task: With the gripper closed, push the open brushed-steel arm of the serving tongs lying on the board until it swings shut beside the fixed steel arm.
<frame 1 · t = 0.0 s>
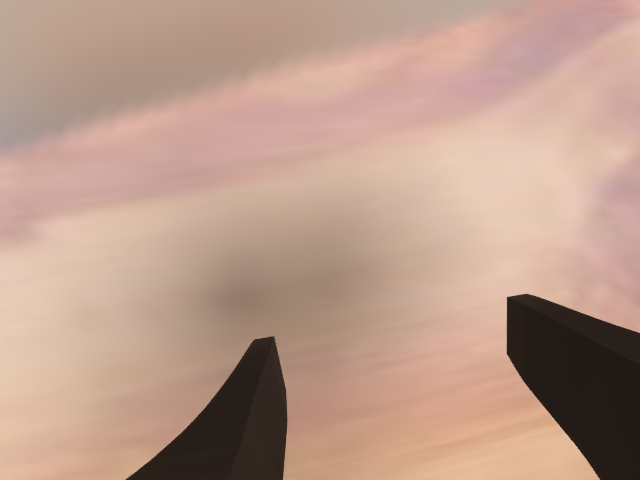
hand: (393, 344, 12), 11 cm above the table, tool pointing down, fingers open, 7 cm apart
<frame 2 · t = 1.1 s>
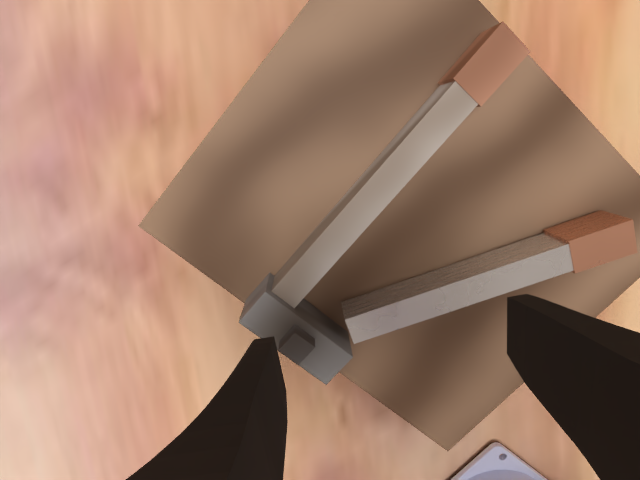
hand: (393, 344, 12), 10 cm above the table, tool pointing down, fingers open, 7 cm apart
tong arm: (480, 277, 20), point 3 cm above the table, hinge at 30.0°
tongs board: (414, 221, 22), on the table
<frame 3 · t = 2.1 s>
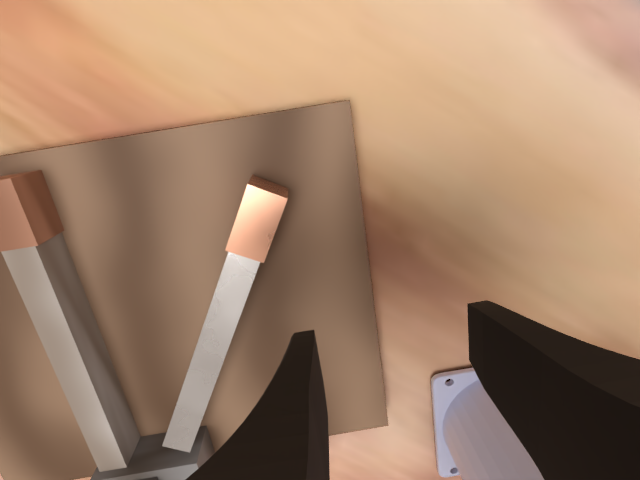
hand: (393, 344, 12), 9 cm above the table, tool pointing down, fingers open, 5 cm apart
tong arm: (220, 322, 19), point 3 cm above the table, hinge at 30.0°
tongs board: (164, 308, 22), on the table
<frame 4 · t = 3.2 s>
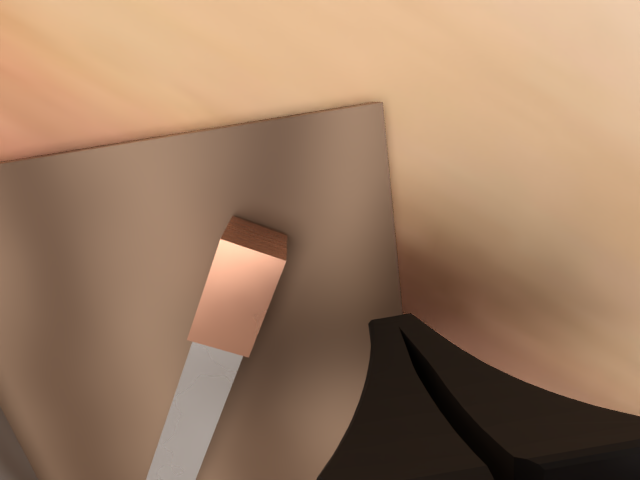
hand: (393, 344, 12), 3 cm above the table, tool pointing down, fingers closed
tong arm: (187, 431, 13), point 3 cm above the table, hinge at 30.0°
tongs board: (114, 393, 15), on the table
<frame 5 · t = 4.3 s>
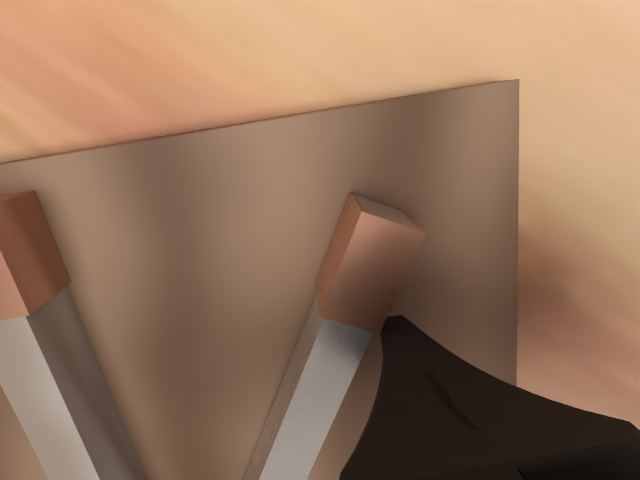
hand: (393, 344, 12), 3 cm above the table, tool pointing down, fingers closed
tong arm: (299, 413, 13), point 3 cm above the table, hinge at 28.6°, touching gripper
tongs board: (211, 379, 15), on the table
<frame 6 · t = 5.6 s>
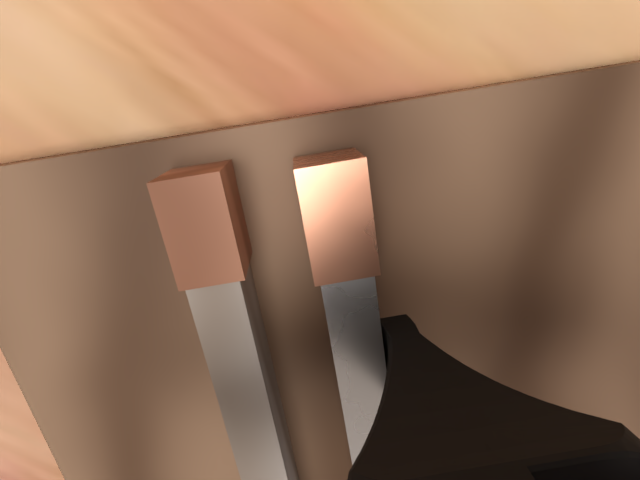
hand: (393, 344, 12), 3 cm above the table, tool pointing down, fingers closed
tong arm: (360, 382, 13), point 3 cm above the table, hinge at -0.4°, touching gripper
tongs board: (353, 356, 15), on the table
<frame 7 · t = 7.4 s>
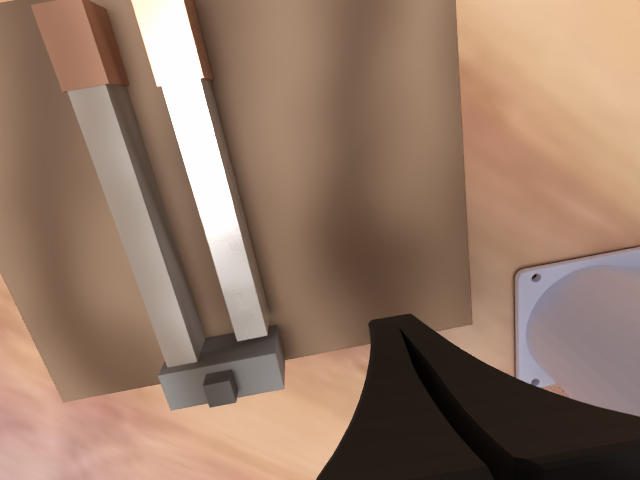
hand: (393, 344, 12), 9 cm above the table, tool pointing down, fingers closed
tong arm: (215, 184, 17), point 3 cm above the table, hinge at -0.5°
tongs board: (231, 192, 20), on the table
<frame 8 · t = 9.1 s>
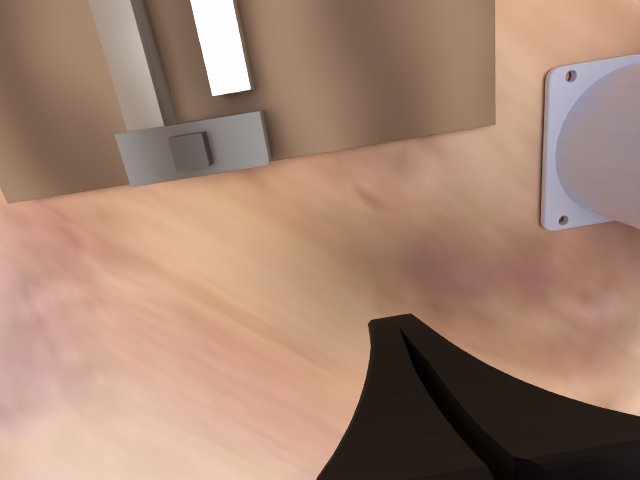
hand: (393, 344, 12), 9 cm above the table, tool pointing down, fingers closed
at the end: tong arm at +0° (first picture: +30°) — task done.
